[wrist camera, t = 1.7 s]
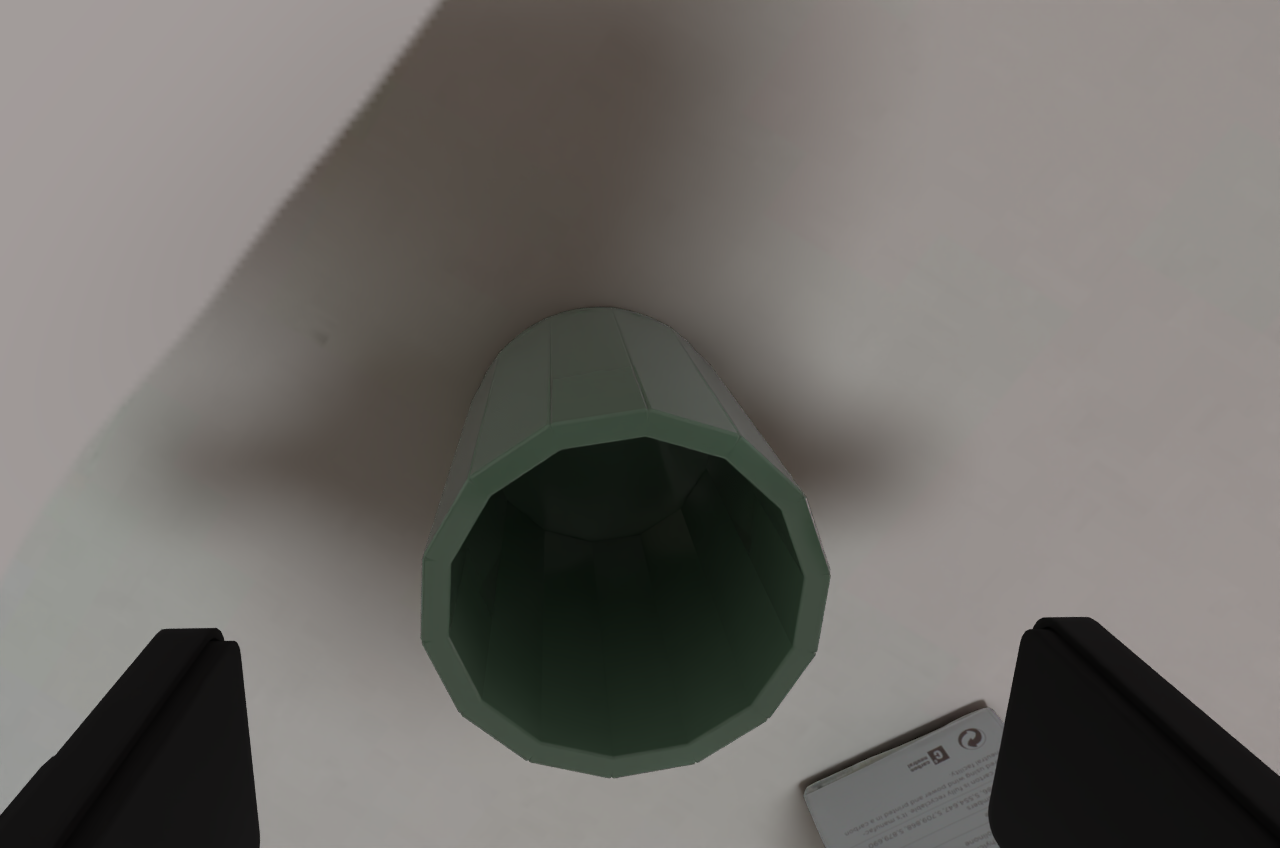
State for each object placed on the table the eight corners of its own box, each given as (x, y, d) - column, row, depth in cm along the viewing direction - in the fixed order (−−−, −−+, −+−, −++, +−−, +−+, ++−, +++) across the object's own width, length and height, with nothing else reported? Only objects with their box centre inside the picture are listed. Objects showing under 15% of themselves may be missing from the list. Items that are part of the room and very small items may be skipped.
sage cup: (445, 327, 19) (373, 450, 11) (712, 288, 19) (818, 382, 11) (494, 563, 21) (461, 806, 13) (736, 524, 21) (842, 739, 13)
